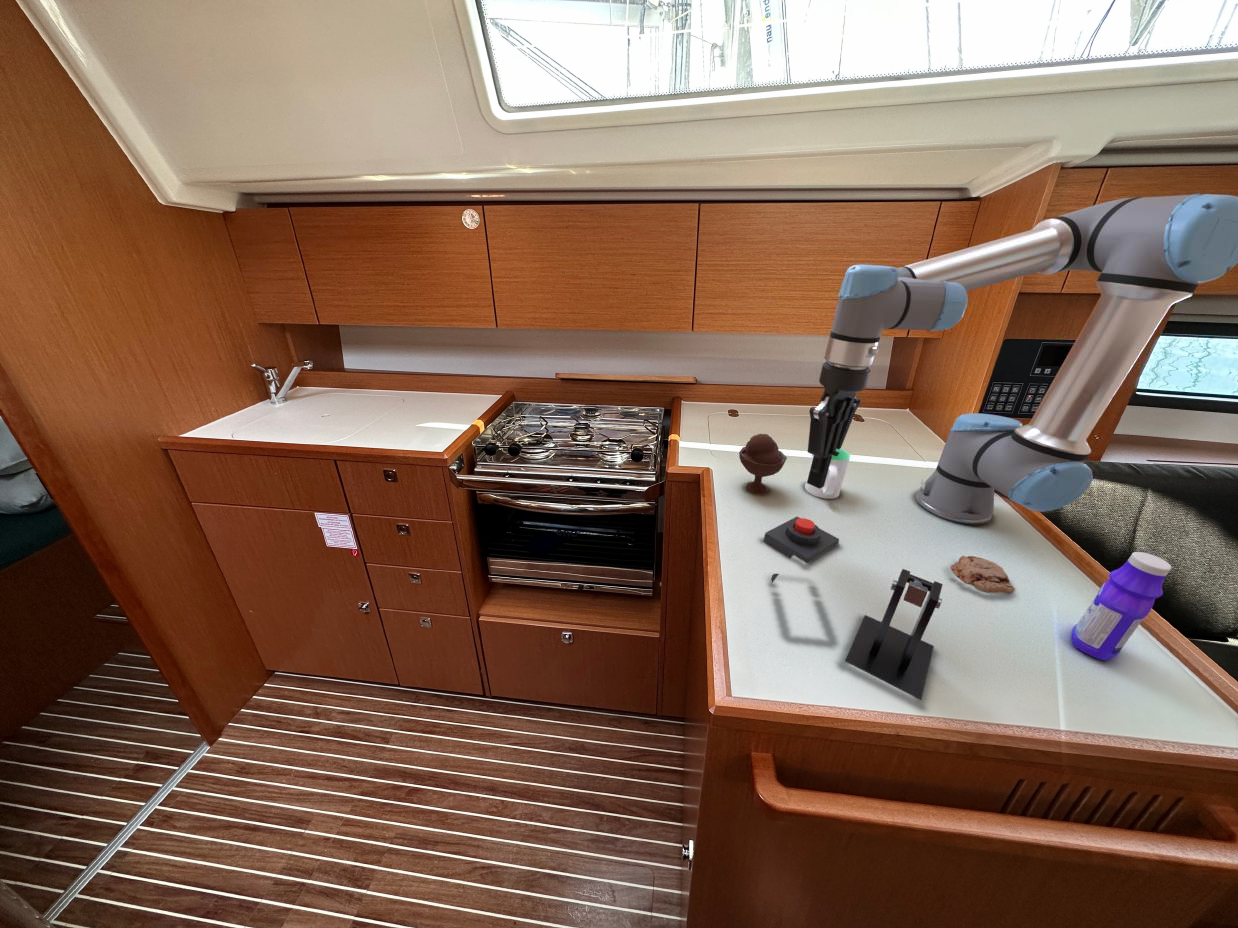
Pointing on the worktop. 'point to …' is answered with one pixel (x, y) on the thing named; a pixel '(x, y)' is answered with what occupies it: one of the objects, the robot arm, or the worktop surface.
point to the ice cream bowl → (761, 460)
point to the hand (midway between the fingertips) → (815, 484)
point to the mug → (831, 477)
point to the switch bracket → (896, 644)
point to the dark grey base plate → (799, 541)
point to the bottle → (1120, 606)
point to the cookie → (982, 574)
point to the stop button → (804, 526)
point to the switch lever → (917, 590)
